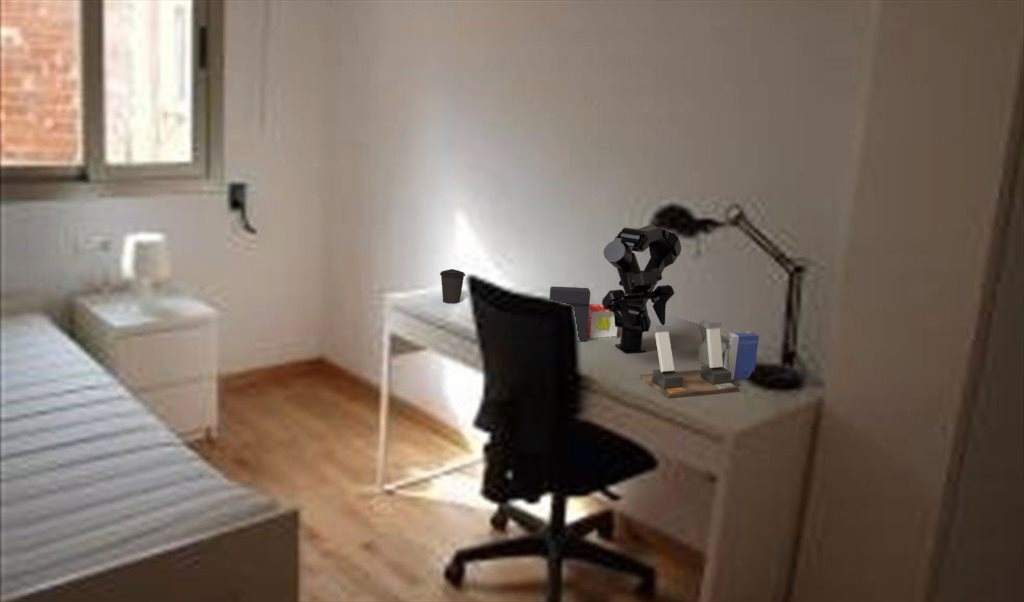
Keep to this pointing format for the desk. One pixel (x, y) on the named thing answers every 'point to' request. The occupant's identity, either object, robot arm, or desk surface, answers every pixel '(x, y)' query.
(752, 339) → the walkman
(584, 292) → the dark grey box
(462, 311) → the desk surface
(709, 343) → the lever
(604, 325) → the red and white cube
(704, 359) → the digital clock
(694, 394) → the switch board
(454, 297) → the coffee cup
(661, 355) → the lever
